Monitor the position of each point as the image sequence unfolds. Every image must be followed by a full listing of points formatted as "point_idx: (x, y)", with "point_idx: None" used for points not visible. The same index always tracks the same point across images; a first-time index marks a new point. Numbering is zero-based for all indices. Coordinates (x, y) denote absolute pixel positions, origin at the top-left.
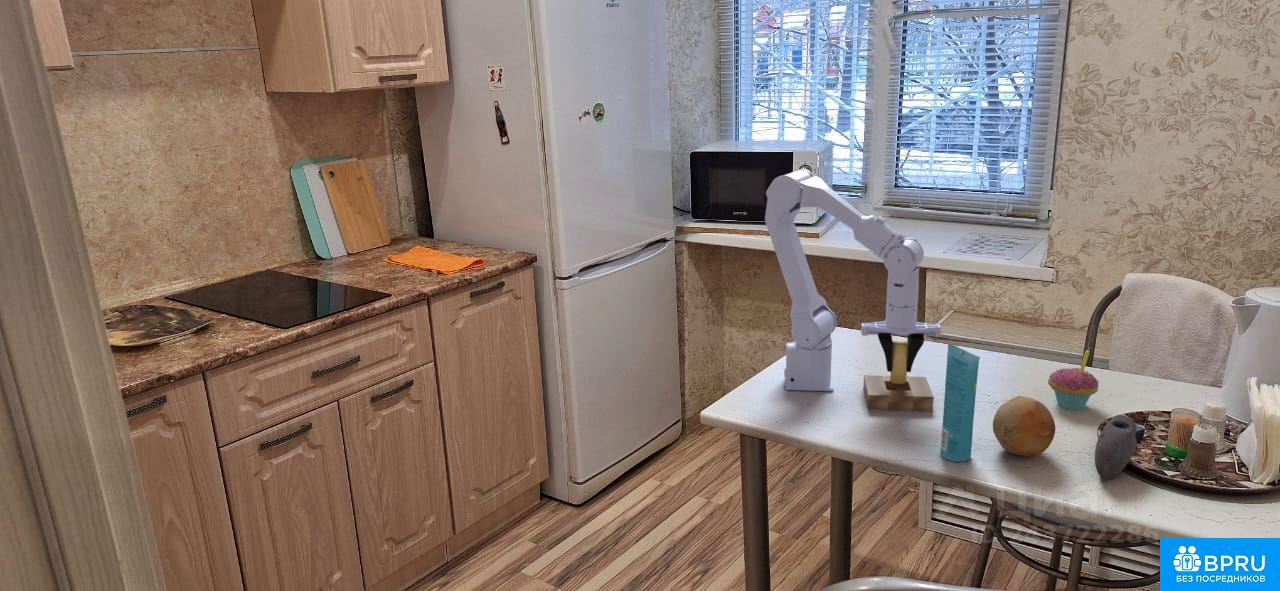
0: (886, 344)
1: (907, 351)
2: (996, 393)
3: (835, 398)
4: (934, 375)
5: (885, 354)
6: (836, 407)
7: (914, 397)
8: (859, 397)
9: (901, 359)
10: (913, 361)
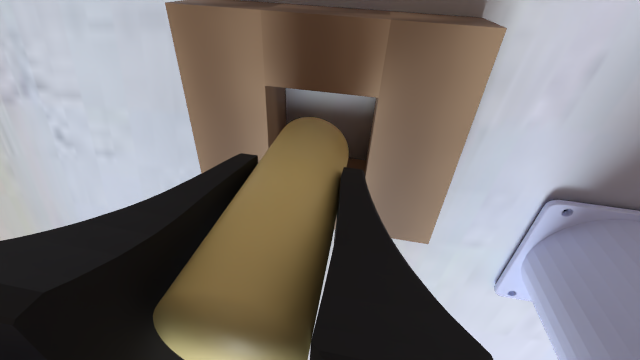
0: (404, 331)
1: (198, 248)
2: (45, 147)
3: (572, 143)
4: None
5: (391, 242)
6: (632, 45)
7: (257, 10)
8: (464, 146)
9: (265, 191)
10: (190, 179)
